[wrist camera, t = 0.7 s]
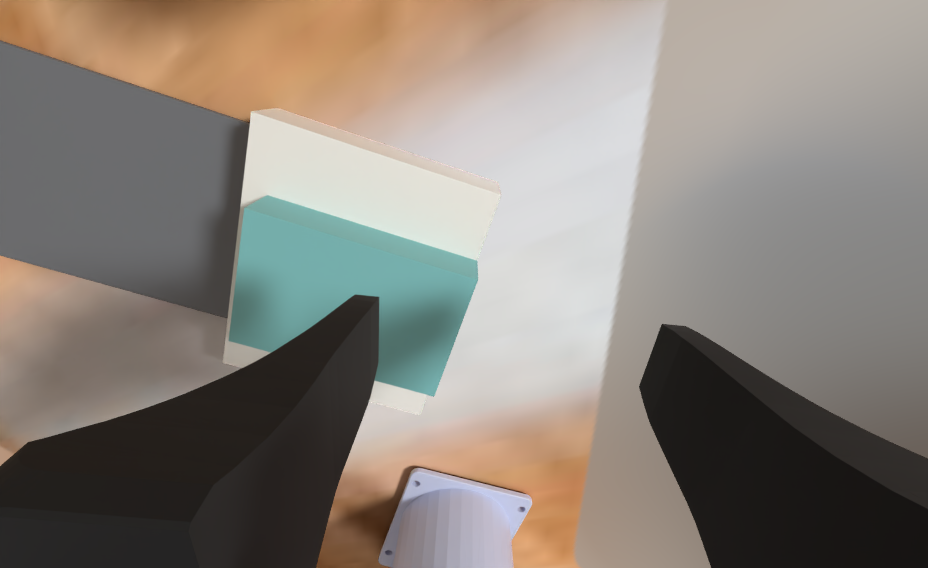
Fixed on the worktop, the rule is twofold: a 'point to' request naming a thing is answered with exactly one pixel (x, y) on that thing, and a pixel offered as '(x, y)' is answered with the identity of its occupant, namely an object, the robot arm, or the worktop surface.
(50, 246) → the mat
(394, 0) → the worktop surface
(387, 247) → the teal rectangular block
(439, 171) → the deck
